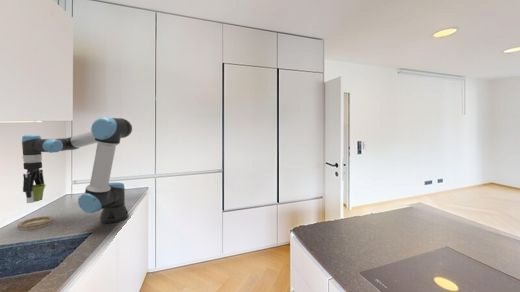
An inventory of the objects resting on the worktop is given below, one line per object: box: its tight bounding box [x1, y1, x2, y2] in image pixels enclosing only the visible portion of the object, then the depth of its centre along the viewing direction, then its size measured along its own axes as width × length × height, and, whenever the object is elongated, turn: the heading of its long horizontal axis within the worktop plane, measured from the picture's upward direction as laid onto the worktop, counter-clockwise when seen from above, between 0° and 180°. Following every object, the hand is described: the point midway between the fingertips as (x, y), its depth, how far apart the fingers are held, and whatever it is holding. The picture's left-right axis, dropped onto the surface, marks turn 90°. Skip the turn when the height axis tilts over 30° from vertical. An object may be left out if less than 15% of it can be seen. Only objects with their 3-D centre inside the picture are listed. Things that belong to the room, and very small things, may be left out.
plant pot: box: [24, 183, 47, 203], centre depth 129 cm, size 9×9×9 cm
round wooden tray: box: [17, 215, 54, 231], centre depth 131 cm, size 14×14×2 cm
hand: (35, 200), depth 130 cm, fingers closed on plant pot, 8 cm apart
